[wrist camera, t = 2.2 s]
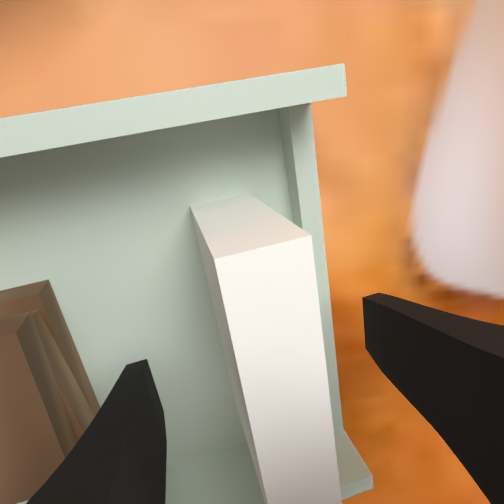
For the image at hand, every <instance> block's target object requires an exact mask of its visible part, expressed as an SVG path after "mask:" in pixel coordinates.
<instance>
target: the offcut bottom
mask: <svg viewBox="0 0 504 504" xmlns="http://www.w3.org/2000/svg"><path fill="white" fill-rule="evenodd" d="M37 309H39V311H40V313H41V315H42V317H43V319H44V321H45V323H46V324H47V326H48V328H49V330H50V332H51V334H52V336H53V338H54V340H55V342H56V344H57V345H58V347H59V349H60V351H61V353H62V355H63V357H64V359H65V361H66V363H67V365H68V366H69V368H70V370H71V372H72V374H73V376H74V378H75V380H76V382H77V384H78V385H79V387H80V389H81V391H82V393H83V395H84V397H85V399H86V401H87V403H88V405H89V406H90V408H91V410H92V412H93V414H94V416H96V414H97V412H98V411H99V409H100V405H99V403H98V400H97V398H96V395H95V393H94V391H93V388H92V386H91V383H90V381H89V378H88V376H87V373H86V371H85V368H84V366H83V363H82V361H81V358H80V356H79V353H78V351H77V348H76V346H75V343H74V341H73V338H72V336H71V333H70V331H69V329H68V326H67V324H66V321H65V319H64V316H63V314H62V311H61V309H60V306H59V304H58V301H57V299H56V296H55V294H54V291H53V289H52V286H51V284H50V281H49V279H48V280H44V281H40V282H35V283H31V284H27V285H23V286H18V287H14V288H10V289H6V290H2V291H0V318H2V317H7V316H12V315H16V314H21V313H26V312H31V311H34V310H37Z"/></svg>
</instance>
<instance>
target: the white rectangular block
mask: <svg viewBox="0 0 504 504" xmlns="http://www.w3.org/2000/svg"><path fill="white" fill-rule="evenodd" d="M190 209H191V213H192V218H193V222H194V226H195V231H196V235H197V239H198V244H199V248H200V252H201V257H202V261H203V265H204V269H205V274H206V278H207V282H208V287H209V291H210V295H211V300H212V304H213V308H214V313H215V317H216V321H217V325H218V330H219V334H220V338H221V343H222V347H223V351H224V356H225V360H226V364H227V369H228V373H229V377H230V382H231V386H232V390H233V394H234V399H235V402H236V406H237V409H238V412H239V416H240V419H241V423H242V426H243V430H244V433H245V436H246V440H247V443H248V447H249V450H250V453H251V457H252V460H253V464H254V467H255V470H256V474H257V477H258V481H259V484H260V488H261V491H262V494H263V498H264V501H265V504H342V500H341V491H340V482H339V474H338V465H337V456H336V447H335V438H334V429H333V421H332V412H331V403H330V394H329V385H328V377H327V368H326V359H325V350H324V341H323V333H322V324H321V315H320V306H319V297H318V289H317V280H316V271H315V262H314V253H313V244H312V236H311V235H310V234H309V233H307V232H306V231H304V230H303V229H301V228H300V227H298V226H297V225H295V224H294V223H292V222H291V221H289V220H288V219H286V218H285V217H283V216H282V215H280V214H279V213H277V212H276V211H275V210H273V209H272V208H270V207H269V206H267V205H266V204H264V203H263V202H261V201H260V200H258V199H257V198H255V197H254V196H252V195H251V194H249V193H244V194H239V195H235V196H230V197H225V198H221V199H216V200H212V201H207V202H202V203H198V204H193V205H190Z"/></svg>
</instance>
